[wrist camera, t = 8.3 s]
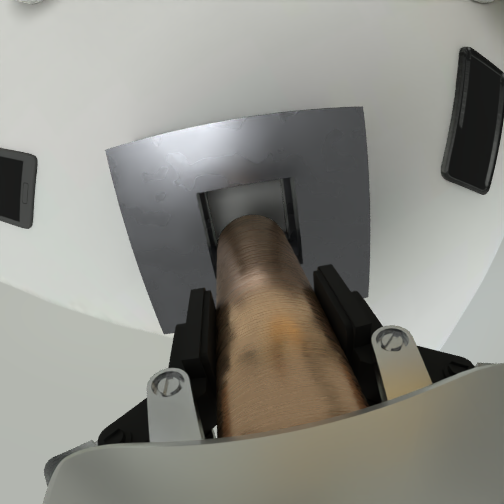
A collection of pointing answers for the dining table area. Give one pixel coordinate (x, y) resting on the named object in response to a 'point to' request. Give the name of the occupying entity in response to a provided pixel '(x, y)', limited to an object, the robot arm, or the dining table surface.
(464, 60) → the phone
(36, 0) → the white cylinder
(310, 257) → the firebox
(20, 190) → the cell phone
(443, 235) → the dining table surface
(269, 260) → the brown long cylinder
